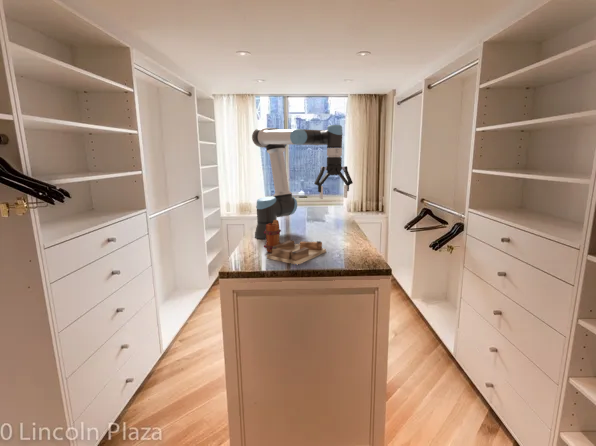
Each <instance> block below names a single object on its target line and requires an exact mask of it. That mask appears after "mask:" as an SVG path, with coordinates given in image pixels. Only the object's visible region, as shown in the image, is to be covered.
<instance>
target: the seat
mask: <svg viewBox="0 0 596 446" xmlns="http://www.w3.org/2000/svg"><path fill="white" fill-rule="evenodd" d="M280 243H281V244H278V245H275V246H273V249H272V253H268V254H266V259H269V260H273V261H278V262H283V263H287V264H290V263H291V265H295V264H297V265H296V266H299V265H301V264H303V263H305V262H307V261H310V260H312V259H314V258H316V257H318V256H320V255H322V254H325V253H327V248H324V247H322V250H309V248H305V247H304V248H302V249H300V243H296V241H295V239H289V240H287V241H284V242H280ZM298 264H299V265H298Z"/></svg>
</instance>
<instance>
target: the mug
mask: <svg viewBox="0 0 596 446" xmlns="http://www.w3.org/2000/svg"><path fill="white" fill-rule="evenodd" d="M281 232H282V230H281V229H280V223H279V220H278V219H277V220H274V221H273V223H272V224H271V223H269V224H267V225H266V230H265V231H264V233H265V234H266V239H265V240H266V243H265V244H264V246H263V247H264V248H265V249H266V252H267V253H269V254H271V253H272V249H273V246H275V245H278V244H281V243H282V242H281V241H280V236H279V233H280V234H281Z"/></svg>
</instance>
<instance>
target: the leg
mask: <svg viewBox="0 0 596 446" xmlns="http://www.w3.org/2000/svg"><path fill="white" fill-rule="evenodd" d="M299 244H300V249H302V248H304V247H305V248H309V250H322V248H323V242H322V241H321V240H318V241H301V240H300V242H299Z"/></svg>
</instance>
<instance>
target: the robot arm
mask: <svg viewBox="0 0 596 446" xmlns="http://www.w3.org/2000/svg"><path fill="white" fill-rule="evenodd" d="M326 128H327V129H321V130H320V129H304V128H295V129H283V128H278V127H263V126H262V127H258V128H256V129H254V131H253V132H252V135H251V139H252V142H253V144H254V145H255V146H257V147H259V148H264V149H266V152H267V154H268V155H269V160H270V167H271V173H272V180H273V186H274V192H275V193H274V194H273V196H263V197H259V198H258V199H257V200H256V206H255V207H256V222H257V223H256V227H255V232H254V238H256V239H259V240H266V234H265V233H264V231H265V230H266V225H267V224H269V223H271V224H272V223H273V221H274V220H278V219H277V218H281V217H282V218H283V217H288V216H292V215H295V213H296V211H297V209H298V201H297V199H296V197H295V196H293V193H292V192H291V191H290V189H289V182H288V176H287V169H286V161H285V154H284V152H285V151H286V147H287V145H292V146H293V145H294V146H295V145H296V146H304V145H305V146H308V145H309V146H326V156H327V157H326V166H323V165H322V166H320V171H319V172H318V175H317V177H316V178H315V181H314V185H316V186H317V192H318V193H319V199H320V200H323V198H324V186H323V184H324V183H325V182H326V181H327V180H328V178H329V177H330V176H339V178H340V179H341V180H342V181H343V183H344V185H343V198H344V199H347V198H348V192H349V191H350V185H352V184H353V180H352V178H351V175H350V172H349V171H348V166H346V165H343V166H342V161H343V160H342V159H343V158H342V155H343V126H342V125H341V124H330V125H327V127H326ZM325 171H327V172H325ZM342 171H343V172H342ZM324 172H325V175H324V176H323V174H324ZM343 173H344V174H343ZM344 175H345V176H344ZM279 237H281V232H280V233H279Z"/></svg>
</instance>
